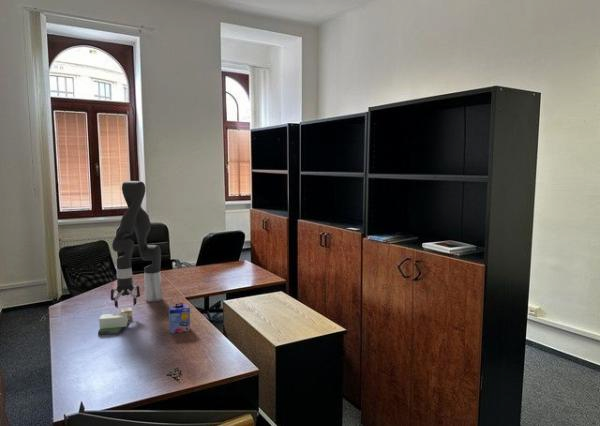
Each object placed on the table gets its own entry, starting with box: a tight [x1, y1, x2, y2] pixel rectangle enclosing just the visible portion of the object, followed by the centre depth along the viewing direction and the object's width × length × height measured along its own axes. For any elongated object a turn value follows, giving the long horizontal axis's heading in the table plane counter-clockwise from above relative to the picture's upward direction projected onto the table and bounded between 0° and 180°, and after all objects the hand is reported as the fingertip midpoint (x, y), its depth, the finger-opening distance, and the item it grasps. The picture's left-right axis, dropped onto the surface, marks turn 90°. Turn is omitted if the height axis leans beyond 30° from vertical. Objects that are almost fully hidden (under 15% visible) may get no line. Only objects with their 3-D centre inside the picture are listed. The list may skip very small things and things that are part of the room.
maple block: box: [120, 307, 133, 321], centre depth 225 cm, size 5×5×5 cm
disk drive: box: [97, 320, 130, 336], centre depth 211 cm, size 10×3×15 cm
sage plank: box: [99, 312, 128, 330], centre depth 211 cm, size 12×6×5 cm, turn 105°
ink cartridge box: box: [168, 302, 191, 334], centre depth 209 cm, size 10×6×14 cm, turn 113°
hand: (125, 306), depth 224 cm, fingers open, 8 cm apart
